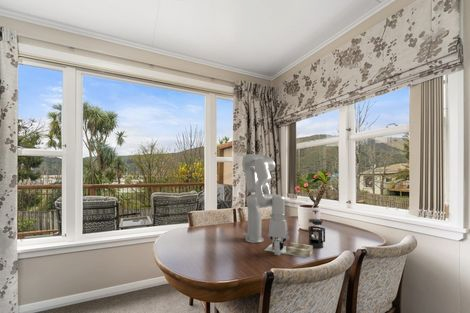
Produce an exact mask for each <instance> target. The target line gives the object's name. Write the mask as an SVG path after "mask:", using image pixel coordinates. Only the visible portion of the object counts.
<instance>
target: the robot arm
mask: <svg viewBox="0 0 470 313" xmlns="http://www.w3.org/2000/svg"><path fill="white" fill-rule="evenodd" d="M241 161H242V164H241V165H242V168H243V171H244V174H245V182H246V189H247V191H248V192H249V193H254V194H250V195H248V196H247V197H246V206H247V232H242V237H245V241H246V242H247V243H253V244H259V243H263V242H264V240H265V239H264V238H263V236H262V221H263V220H262V217H263V216H262V213H261V211H260V209H264V208H269V207H271V214H270V213H269V217H271V218H270V220H269V226H268V233H267V236H266V237H268V238H269V239H270V240H271V242H272V241H273V247H274V241H275V240H276V239H278V238H281V243H280V250H282V249H283V243H284V242H286V241H288V240H290V237H291V236H290V235H289V233H288V225H287V224H288V223H287V220H286V212H285V211H286V201H285V200H286V199H285V197H284V196H283V195H279V194H276V193H271V191H270V184H269V183H270V182H271V181H272V175H271V172H272V171H274V170H275V169H276V163H275V161H274V159H273V158H271V157H269V156H267V155H266V154H255V153H254V154H253V153H252V154H251V153H250V154H245V155H244V156H243V157H242V160H241Z"/></svg>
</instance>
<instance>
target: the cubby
mask: <svg viewBox="0 0 470 313" xmlns="http://www.w3.org/2000/svg"><path fill="white" fill-rule="evenodd" d="M313 252H314V248H313V246H312V245H308V244H304V243H297V242H292V241H290V242H289V246H286V253H288V254H287V255H289V254H293V255H292V256H294V255H299V256H298V257H300V256H305V257H304V258H306V257H310V258H311V256H312V254H313Z"/></svg>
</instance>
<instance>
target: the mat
mask: <svg viewBox="0 0 470 313" xmlns="http://www.w3.org/2000/svg"><path fill="white" fill-rule="evenodd" d="M286 247H287V246H286V245H284V249H283V250H282V251H281V254H282V255H283V254H284V255H289V256H290V255H291V256H295V257H301V258H306V259H307V258H308V259H310V258H311V256H310V257H305V256H299V255H293V254H288V253H286ZM264 251H266V252H268V251H269V252H273V253H275V251H274V250H272V243H270V244H269V245H268V246H267V247H266V248H265V249H264Z"/></svg>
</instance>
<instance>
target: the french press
mask: <svg viewBox="0 0 470 313" xmlns="http://www.w3.org/2000/svg"><path fill="white" fill-rule="evenodd" d="M313 212H314V215H315V217H314V218H308V219H307V220H308V223H309V224H310V223H312V224H313V226H308V228H307V229H308V240H307V241H308V243H307V245H312V246H313V249H316V250H318V249H319V250H320V249H324V243H325V242H326V228H325V227H322V226H321V225H323V222H324V220H322V219H318V218H317V215H316V214H317V213H319V210H315V209H314V210H312V213H313ZM314 232H315V233H314ZM317 233H318V234H317Z"/></svg>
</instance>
